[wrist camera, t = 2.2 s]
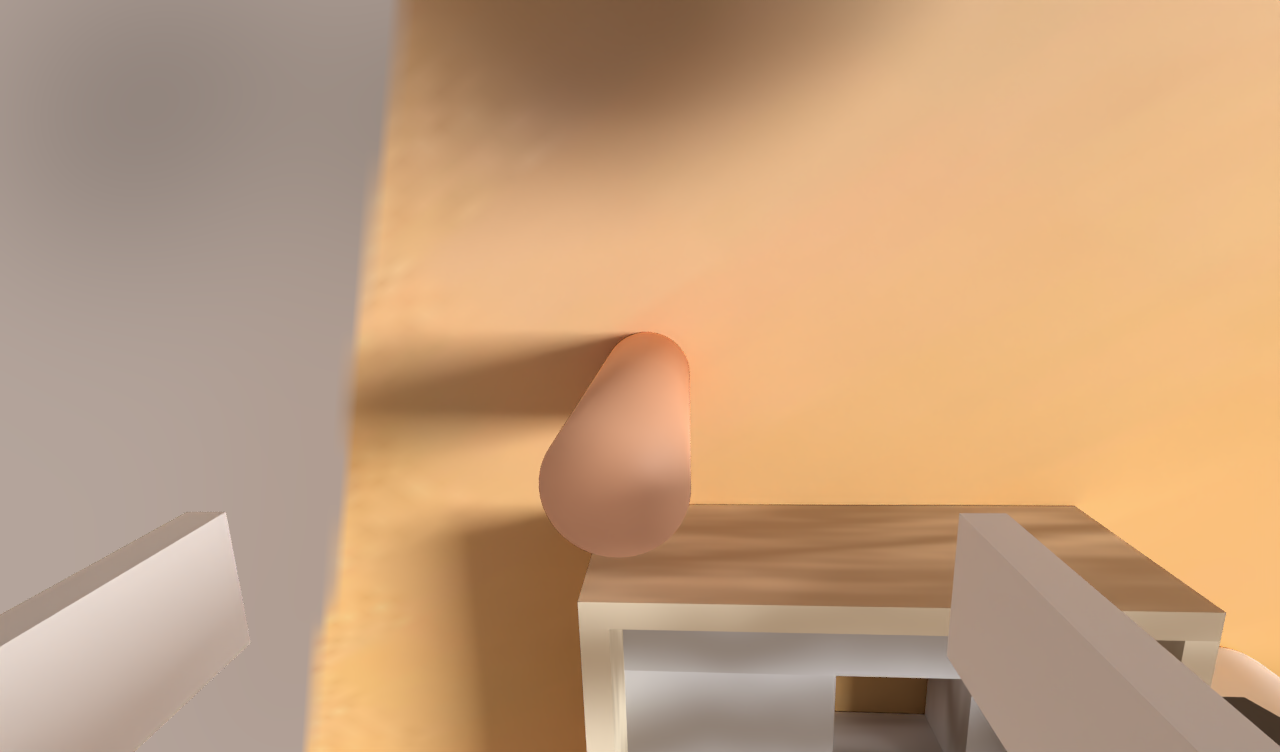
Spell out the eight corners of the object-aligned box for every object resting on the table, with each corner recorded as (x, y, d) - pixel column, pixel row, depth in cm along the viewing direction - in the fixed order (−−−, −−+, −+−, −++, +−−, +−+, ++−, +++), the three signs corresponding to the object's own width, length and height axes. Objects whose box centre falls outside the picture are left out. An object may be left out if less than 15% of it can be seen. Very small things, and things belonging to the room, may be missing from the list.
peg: (603, 333, 26) (533, 415, 14) (688, 331, 25) (689, 414, 14) (607, 414, 27) (543, 556, 15) (690, 414, 26) (691, 558, 15)
